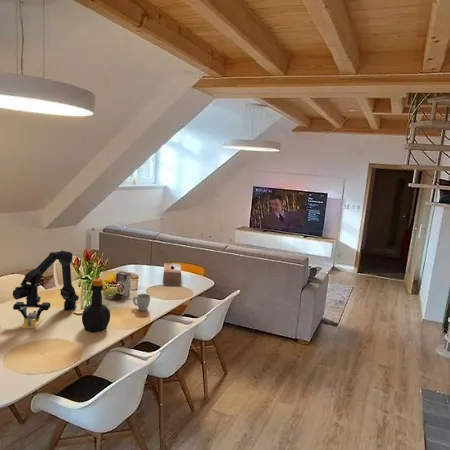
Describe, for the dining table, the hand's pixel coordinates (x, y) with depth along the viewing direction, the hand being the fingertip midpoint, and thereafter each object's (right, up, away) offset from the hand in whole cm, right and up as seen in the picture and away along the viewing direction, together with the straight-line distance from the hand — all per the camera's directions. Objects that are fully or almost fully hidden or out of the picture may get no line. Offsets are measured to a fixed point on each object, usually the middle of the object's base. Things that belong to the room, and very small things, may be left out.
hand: (32, 319), depth 224 cm
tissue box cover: (+67, +9, +106) cm, 126 cm away
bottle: (+37, -6, +2) cm, 37 cm away
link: (0, -2, 0) cm, 2 cm away
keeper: (0, -2, 0) cm, 2 cm away
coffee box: (+37, +4, +60) cm, 71 cm away
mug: (+56, -2, +36) cm, 66 cm away
